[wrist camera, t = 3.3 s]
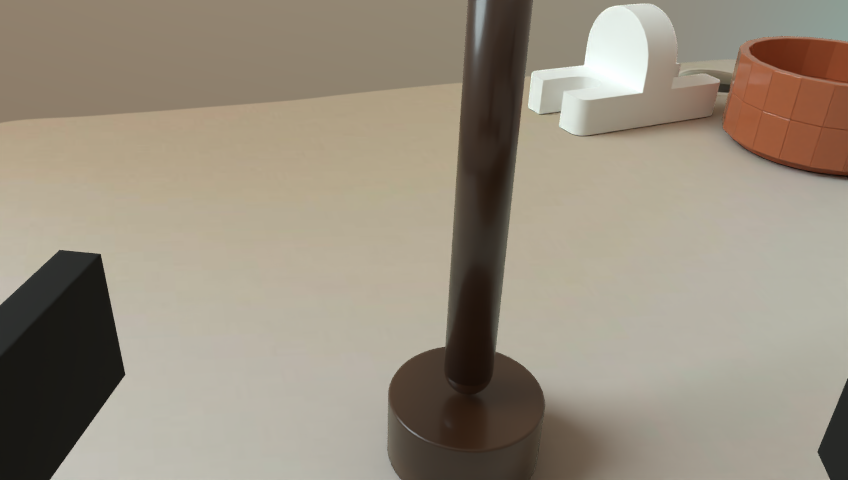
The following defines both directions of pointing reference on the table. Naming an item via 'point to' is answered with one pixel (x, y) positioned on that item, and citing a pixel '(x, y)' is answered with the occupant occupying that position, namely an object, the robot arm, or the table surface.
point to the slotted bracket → (624, 77)
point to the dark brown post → (475, 286)
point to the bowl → (791, 102)
